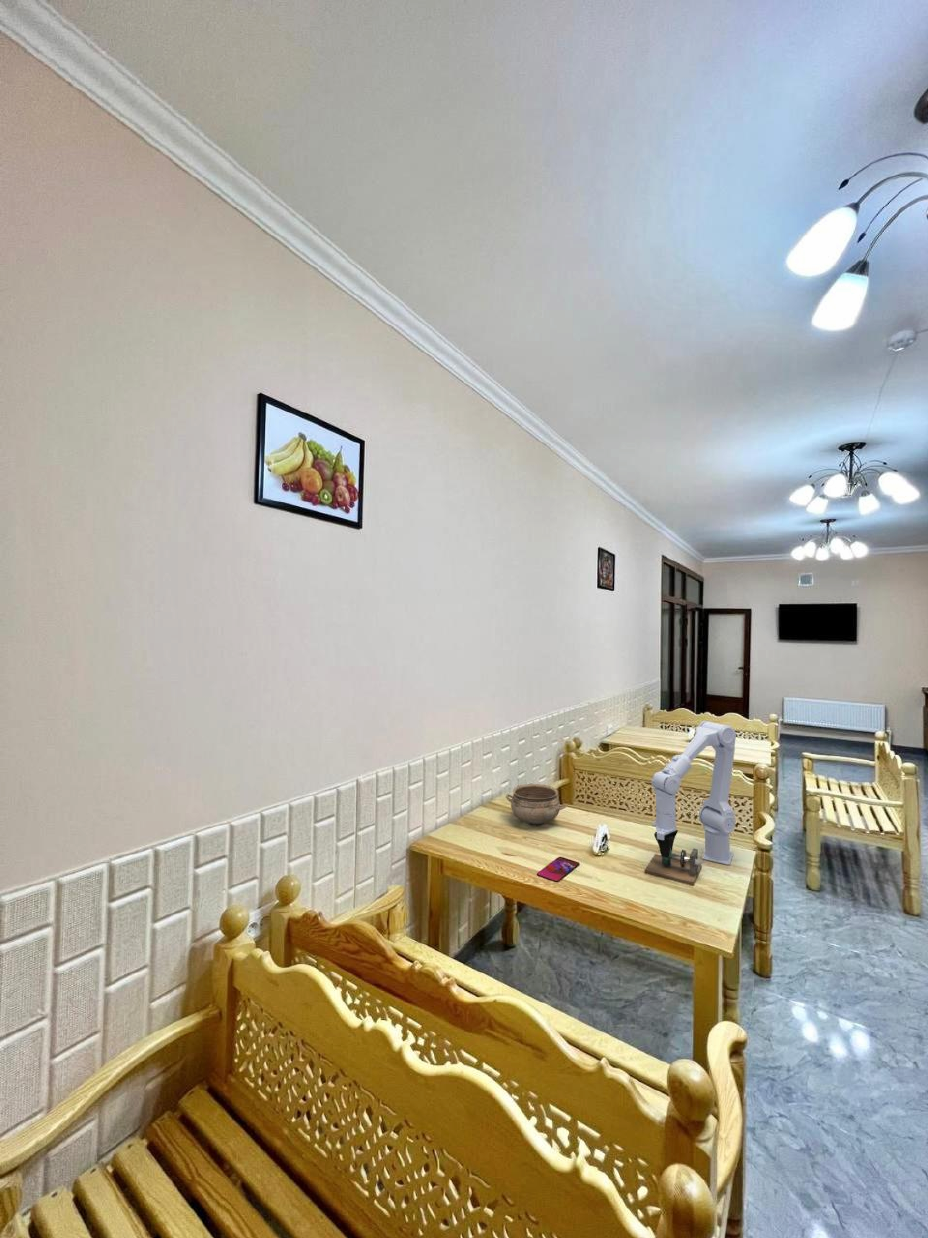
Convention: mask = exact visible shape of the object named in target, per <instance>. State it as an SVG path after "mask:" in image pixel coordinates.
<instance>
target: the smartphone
mask: <svg viewBox="0 0 928 1238" xmlns="http://www.w3.org/2000/svg"><path fill="white" fill-rule="evenodd" d="M578 867H580V862H578V861H576V860H573V859H569V858H567V857H563V856H558V857H557V858H555V859H553V860H552V861H551V862H550V863H548V864H547V865H546V866H545V867H543V868H542V869H541V870H539V871H538V872H537V873H536V876H538V877H539V878H543V879H545V880H548V881H551V882H554V883H560V882H561V881H562V880H563V879H564V878H566V877H567V876H568V875H570V874H571V873H572V872H573V871H574V870H576V869H577V868H578Z"/></svg>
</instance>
